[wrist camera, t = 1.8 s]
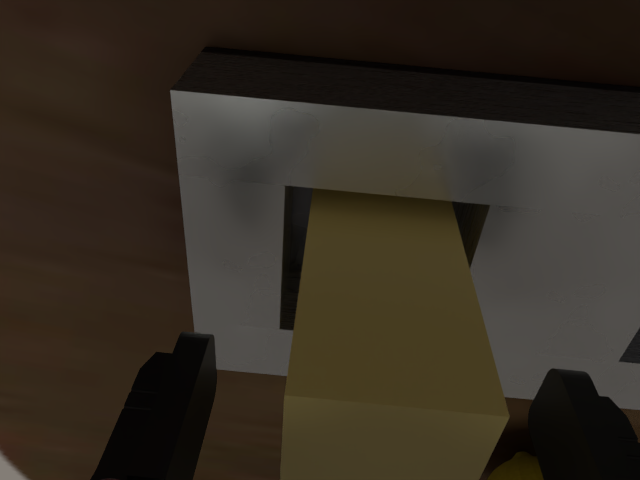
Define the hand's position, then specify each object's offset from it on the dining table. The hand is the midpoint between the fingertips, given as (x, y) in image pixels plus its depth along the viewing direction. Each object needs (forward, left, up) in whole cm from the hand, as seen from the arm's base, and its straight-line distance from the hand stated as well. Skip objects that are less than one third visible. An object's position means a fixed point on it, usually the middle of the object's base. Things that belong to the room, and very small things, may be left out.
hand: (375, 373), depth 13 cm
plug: (0, 0, -7) cm, 7 cm away
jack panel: (0, +5, -7) cm, 9 cm away
